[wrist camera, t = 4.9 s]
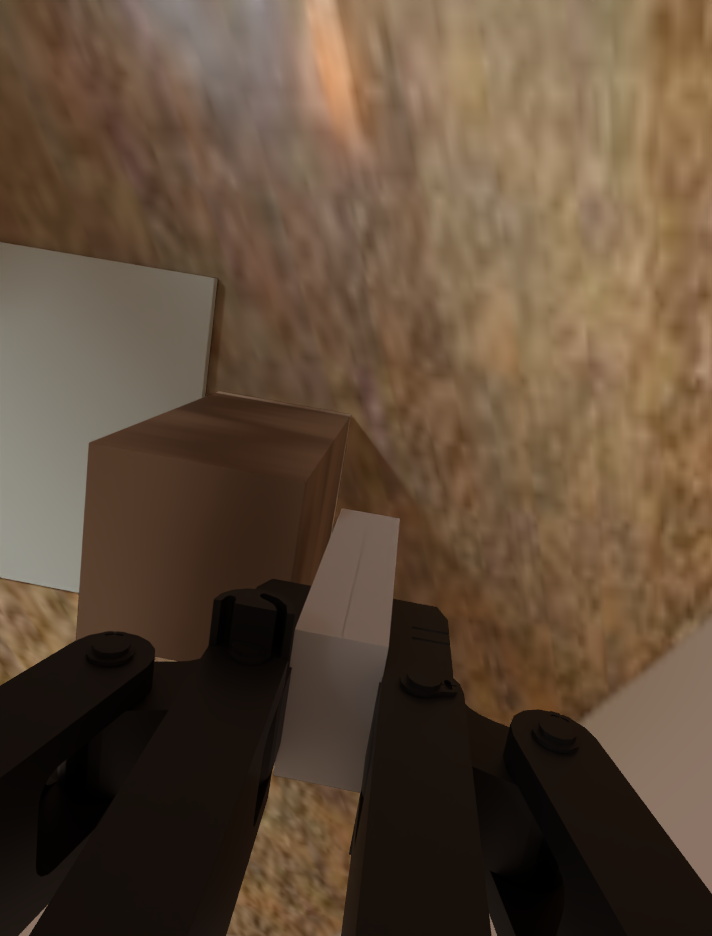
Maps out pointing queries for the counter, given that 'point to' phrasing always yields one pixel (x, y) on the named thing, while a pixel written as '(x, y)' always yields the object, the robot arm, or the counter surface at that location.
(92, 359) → the mat
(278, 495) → the block
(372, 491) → the counter surface
